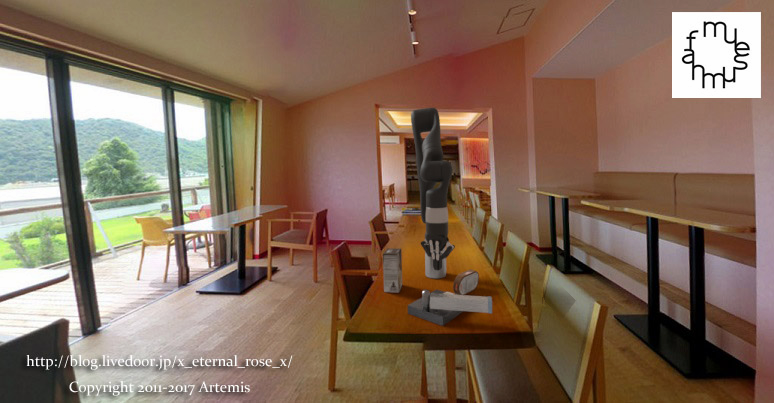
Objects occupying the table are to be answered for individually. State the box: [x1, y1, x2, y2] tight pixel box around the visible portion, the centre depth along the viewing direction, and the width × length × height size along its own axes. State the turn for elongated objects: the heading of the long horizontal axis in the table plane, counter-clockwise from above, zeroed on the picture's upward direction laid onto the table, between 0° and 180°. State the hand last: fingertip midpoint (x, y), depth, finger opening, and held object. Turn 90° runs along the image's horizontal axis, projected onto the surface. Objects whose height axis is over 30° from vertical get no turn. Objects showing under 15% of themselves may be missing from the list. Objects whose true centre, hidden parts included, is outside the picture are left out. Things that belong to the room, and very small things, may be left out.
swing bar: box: [430, 292, 493, 314], centre depth 104 cm, size 19×3×4 cm, turn 77°
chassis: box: [407, 289, 464, 327], centre depth 112 cm, size 18×14×9 cm
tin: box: [452, 269, 480, 295], centre depth 128 cm, size 15×3×8 cm, turn 133°
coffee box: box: [382, 247, 403, 294], centre depth 134 cm, size 9×6×16 cm
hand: (437, 269), depth 111 cm, fingers closed
